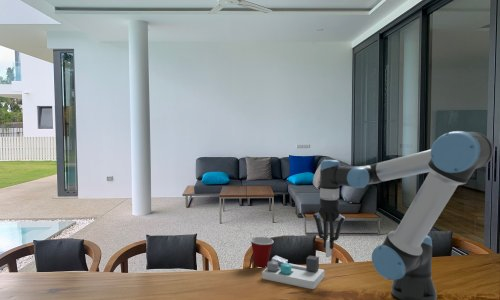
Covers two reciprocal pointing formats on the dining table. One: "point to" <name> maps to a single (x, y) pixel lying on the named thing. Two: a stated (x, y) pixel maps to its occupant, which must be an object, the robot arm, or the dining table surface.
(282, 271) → the teal button
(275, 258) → the white block with nub
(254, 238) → the plastic cup
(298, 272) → the panel
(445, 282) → the dining table surface
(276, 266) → the grey button
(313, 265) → the slider knob
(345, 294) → the dining table surface
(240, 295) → the dining table surface
